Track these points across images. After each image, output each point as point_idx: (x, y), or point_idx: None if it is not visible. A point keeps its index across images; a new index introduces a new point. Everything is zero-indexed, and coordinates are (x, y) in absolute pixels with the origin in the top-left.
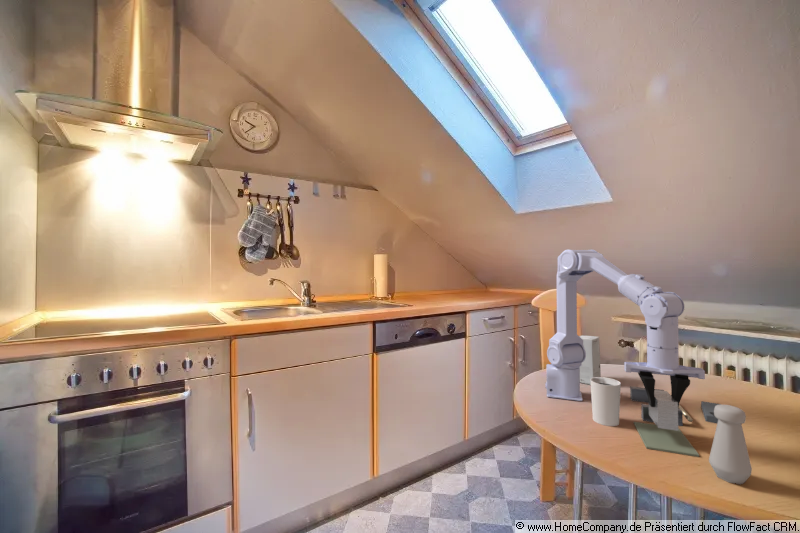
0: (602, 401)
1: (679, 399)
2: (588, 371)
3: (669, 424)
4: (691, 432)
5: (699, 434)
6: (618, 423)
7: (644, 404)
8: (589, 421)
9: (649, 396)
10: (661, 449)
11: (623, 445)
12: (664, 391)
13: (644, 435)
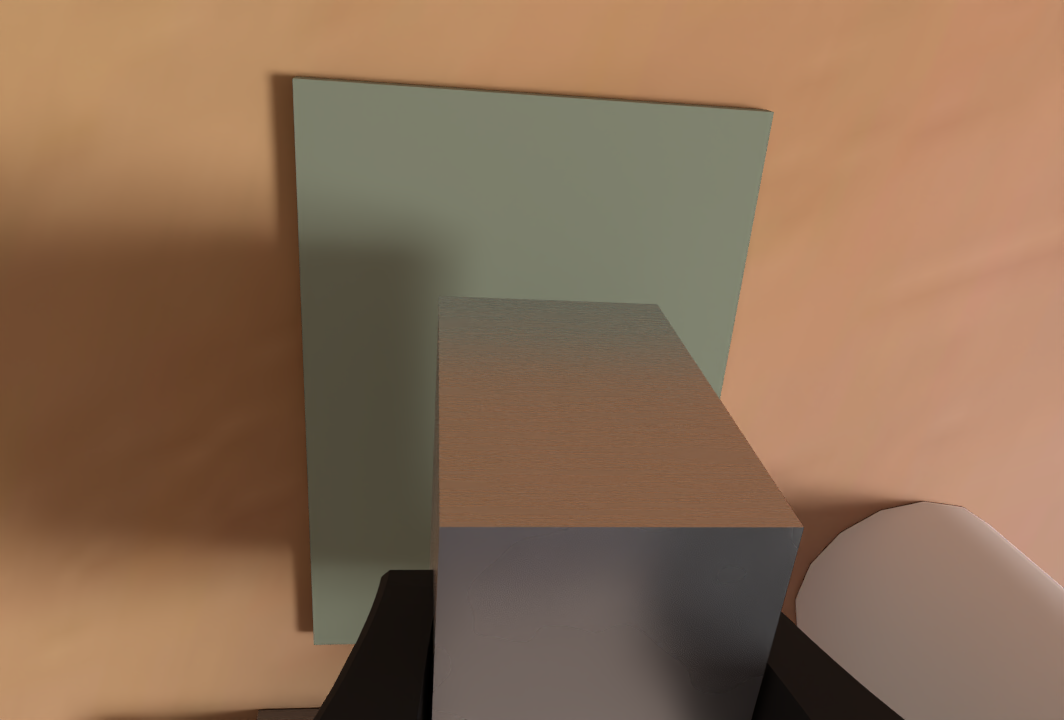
0: None
1: (353, 685)
2: None
3: (540, 327)
4: (217, 612)
5: (156, 596)
6: (823, 563)
7: None
8: (1049, 539)
9: (850, 676)
10: (637, 103)
11: (966, 111)
12: None
13: None
